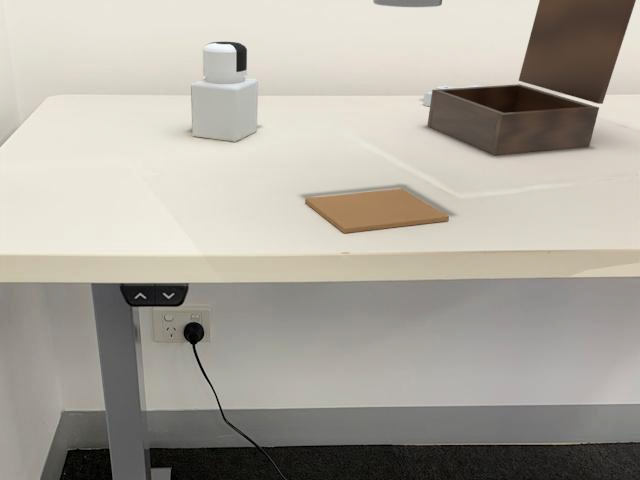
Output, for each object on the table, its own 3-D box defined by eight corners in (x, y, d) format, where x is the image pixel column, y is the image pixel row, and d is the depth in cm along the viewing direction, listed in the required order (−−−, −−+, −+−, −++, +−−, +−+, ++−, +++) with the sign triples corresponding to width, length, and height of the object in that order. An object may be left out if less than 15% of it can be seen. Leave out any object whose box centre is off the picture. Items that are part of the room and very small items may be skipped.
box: (493, 162, 97) (502, 114, 94) (426, 132, 110) (432, 89, 107) (587, 153, 101) (599, 107, 98) (511, 125, 114) (519, 84, 111)
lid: (642, -35, 89) (671, -32, 91) (550, -42, 103) (577, -39, 104) (597, 103, 97) (625, 104, 99) (518, 80, 111) (543, 82, 112)
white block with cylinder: (214, 126, 112) (213, 38, 106) (257, 131, 110) (259, 41, 103) (191, 136, 107) (189, 44, 101) (236, 142, 104) (236, 48, 98)
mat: (401, 192, 86) (402, 188, 86) (448, 221, 78) (449, 216, 78) (304, 202, 83) (305, 198, 82) (343, 233, 75) (344, 228, 75)
